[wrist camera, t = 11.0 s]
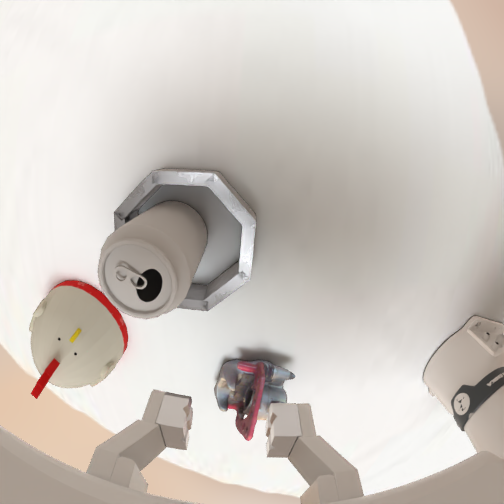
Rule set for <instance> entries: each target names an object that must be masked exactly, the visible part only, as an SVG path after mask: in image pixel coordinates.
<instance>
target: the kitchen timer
mask: <svg viewBox="0 0 504 504" xmlns="http://www.w3.org/2000/svg"><path fill="white" fill-rule="evenodd" d="M29 330H30V331H31V332H32V334H31V350H32V356H33V360H34V363H35V365H36V368H37V370H38V371H39V373H40V374H41V377H40V379H39V380H38V382H37V384H36V386H35V387H34V389H33V391H32V393H31V394H32V395H33V396H34V397H35V398H36V399H37V398H38V396H39V395H40V393H41V392H42V390H43V389H44V387H45V386H46V384H47V383H48V382H49V383H51V384H53V385H55V386H58V387H62V388H78V387H83V386H86V385H88V384H90V385H91V386H92V387H93V386H95V385H97V384H98V383H99V382H101V381H102V380H104V379H105V378H106V377H107V376H108V375H109V374H110V372H111V371H112V370H113V369H114V368H115V366H116V364H117V363H118V361H119V360H120V358H121V357H122V355H123V353H124V351H125V350H126V348H127V342H128V334H127V328H126V325H125V323H124V321H123V318H122V316H121V314H120V313H119V311H118V310H117V309H116V307H115V306H114V305H112V303H111V302H110V301H109V300H108V298H107V297H106V296H105V295H104V294H103V293H102V292H100V291H99V290H97V289H95V288H94V287H92V286H91V285H89V284H86V283H83V282H80V281H64V282H62V283H60V284H58V285H57V286H56V287H54V288H53V289H52V290H51V291H50V293H49V294H48V295H47V296H46V298H45V299H43V300H42V301H41V303H40V304H39V306H38V307H37V309H36V310H35V312H34V313H33V317H32V320H31V323H30V327H29Z"/></svg>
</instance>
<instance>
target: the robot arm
mask: <svg viewBox="0 0 504 504" xmlns="http://www.w3.org/2000/svg"><path fill="white" fill-rule="evenodd" d="M503 334H504V325H503V324H502V323H499V322H496V321H492V320H488V319H485V318H481V317H478V316H473V317H472V318H471V319H470V320H469V321H468V322H467V323H466V324H465V325H464V327H463V328H462V329H461V330H459V331H458V332H457V333H455V334H454V335H453V336H451V337H450V338H449V339H448V340H447V341H446V342H445V343H444V344H443V345H442V346H441V347H440V348H439V349H438V350H437V351H436V353H435V354H434V355H433V357H432V358H431V360H430V361H429V363H428V365H427V367H426V369H425V372H424V376H423V380H424V383H425V384H426V385H427V386H428V387H429V393H430V394H431V396H436V397H437V399H438V400H439V401H440V402H441V404H442V405H443V406H444V407H445V409H446V410H447V411H448V412H449V413H450V414H451V415H454V419H455V421H456V422H457V425H458V427H460V429H461V430H462V431H465V432H466V434H467V436H468V437H469V439H470V441H471V443H472V445H473V446H474V448H475V450H476V452H477V454H475V455H473V456H471V457H470V458H468V459H466V460H464V461H462V462H460V463H458V464H456V465H453V466H451V467H449V468H447V469H445V470H442V471H440V472H438V473H435V474H433V475H430V476H428V477H425V478H423V479H420V480H417V481H414V482H412V483H409V484H406V485H403V486H400V487H396V488H393V489H390V490H386V491H383V492H379V493H375V494H371V495H367V496H364V494H363V490H362V486H361V482H360V478H359V474H358V470H357V469H356V468H355V467H354V466H353V465H351V464H350V463H349V462H348V461H347V460H346V459H345V458H344V457H342V456H341V455H340V454H339V453H338V452H337V451H336V450H335V449H334V448H333V447H331V446H330V445H329V444H328V443H327V442H326V441H325V440H324V439H323V438H322V437H321V436H316V431H315V426H314V421H313V416H312V411H311V406H310V404H309V403H303V404H296V403H271V404H270V408H269V413H270V414H268V415H267V420H266V436H267V437H268V440H267V443H266V449H267V457H288V459H289V460H290V462H291V463H292V464H293V466H294V467H295V468H296V469H297V471H298V472H299V473H300V474H301V475H302V477H303V478H304V479H305V480H306V482H307V483H308V484H309V485H310V487H309V488H308V489H307V490H306V491H305V493H304V494H303V495H302V496H301V497H300V500H301V504H504V335H503ZM191 403H192V399H191V397H190V396H185V395H179V394H174V393H169V392H164V391H159V390H153V391H152V392H151V395H150V398H149V400H148V403H147V406H146V409H145V412H144V415H143V418H142V420H137V421H135V422H134V423H133V424H131V425H130V426H128V427H127V428H125V429H124V430H122V431H121V432H119V433H118V434H116V435H115V436H113V437H111V438H110V439H108V440H107V441H106V442H104V443H102V444H101V445H99V446H97V447H96V449H95V452H94V454H93V457H92V459H91V462H90V464H89V467H88V469H87V472H86V473H85V472H83V471H81V470H78V469H76V468H74V467H72V466H70V465H67V464H65V463H63V462H61V461H59V460H57V459H55V458H53V457H51V456H49V455H47V454H46V453H44V452H42V451H40V450H38V449H37V448H35V447H33V446H31V445H30V444H28V443H26V442H25V441H23V440H22V439H20V438H18V437H17V436H15V435H14V434H12V433H11V432H9V431H8V430H6V429H5V428H4V427H2V426H1V425H0V504H202V503H194V502H188V501H182V500H176V499H171V498H166V497H161V496H157V495H153V494H149V493H146V492H147V487H148V483H147V482H146V480H145V479H144V477H143V476H142V474H141V472H140V471H141V470H142V469H143V468H144V467H146V466H147V465H148V464H149V463H150V462H151V461H152V460H153V459H154V458H156V457H157V456H158V455H159V454H160V453H161V452H162V451H163V450H164V449H165V448H166V447H170V448H176V449H182V450H187V446H188V441H189V432H188V430H190V429H191V425H192V416H193V411H192V407H191Z"/></svg>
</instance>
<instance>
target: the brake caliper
mask: <svg viewBox="0 0 504 504" xmlns="http://www.w3.org/2000/svg"><path fill="white" fill-rule="evenodd" d="M293 378H295V375H294V374H293V373H292V372H290V371H289V370H287V369H284V368H282V367H278V366H275V365H273V364H272V363H271V362H269V361H266V360H256V361H252V362H250V361H241V360H238V359H235V360H232V361H228V362H226V363H225V364H224V365H223V366H222V368H221V371H220V376H219V379H218V381H217V383H216V385H215V387H214V392H215V396H216V399H217V403H218V406H219V409H220V410H221V411H227V410H228V408H229V409H235V410H236V411H237V416H236V427H237V429H238V431H239V432H240V433H241V434H242V435H243V436H244V438H245V439H246V440H248V441H249V440H251V438H252V437H253V433H254V427H255V424H256V422H257V420H267V415H268V414H270V413H269V408H270V404H271V403H287V395H286V392H285V390H284V389H283V383H284V380H289V379H293ZM245 414H246V415H248V416H247V417H246V418H245V419H243V417H244V415H245Z"/></svg>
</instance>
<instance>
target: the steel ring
mask: <svg viewBox="0 0 504 504" xmlns="http://www.w3.org/2000/svg"><path fill="white" fill-rule="evenodd" d="M163 184H171V185H192V186H208V187H209V188H210V189H211V191H212V192H213V193H214V194H215V195H216V196H217V197H218V198H219V200H220V201H221V202H222V203H223V204H224V205H225V206H226V208H227V209H228V210H229V211H230V212H231V213H232V214H233V216H234V217H235V218H236V219H237V220H238V221H239V223H240V224H241V225H242V235H241V247H240V259H239V261H238V262H236V263H235V264H234V265H232V266H231V267H230V268H229V269H227V270H226V271H225V272H224V273H222V274H221V275H220V276H218V277H217V278H216V279H215V280H213V281H212V282H211V283H210V284H208V285H202V284H192V283H191V285H190V288H189V290H188V293H187V295H186V297H185V299H184V300H183V301H182V302H181V303H180V305H179V306H178V307H177V308H183V309H192V310H202V311H209V310H210V309H211V308H213V307H214V306H215V305H217V304H218V303H219V302H221V301H222V300H224V299H225V298H226V297H228V296H229V295H230V294H232V293H233V292H234V291H236V290H237V289H238V288H240V287H241V286H242V285H244V284H245V283H246V282H248V281H249V280H250V279H251V269H252V259H253V249H254V239H255V229H256V215H255V213H254V212H253V210H252V209H251V208H250V207H249V206H248V205H247V203H246V202H245V201H244V200H243V199H242V198H241V196H240V195H239V194H238V193H237V192H236V191H235V189H234V188H233V187H232V186H231V185H230V184H229V182H228V181H227V180H226V179H225V178H224V177H223V176H222V174H221V173H220V172H219V171H209V170H189V169H159V170H154V171H152V172H151V173H150V174H149V175H148V176H147V177H146V178H145V179H144V180H143V181H142V182H141V183H140V184H139V185H138V186H137V187H136V189H135V190H134V191H133V192H132V193H131V194H130V195H129V196H128V197H127V198H126V199H125V200H124V202H123V203H122V204H121V205H120V206H119V207H118V208H117V209H116V211H115V212H114V225H115V231H116V230H117V229H118V228H120V227H121V226H123V225H124V224H126V223H127V222H129V221H131V220H132V219H134V218H135V217H137V216H138V210H139V208H140V207H141V206H142V205H143V204H144V203H145V202H146V201H147V200H148V199H149V198H150V197H151V196H152V195H153V194H154V193H155V192H156V191H157V190H158V189H159V188H160V187H161V186H162V185H163Z"/></svg>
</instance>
